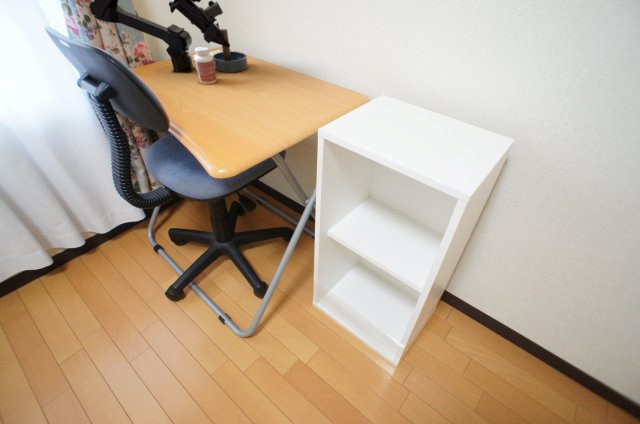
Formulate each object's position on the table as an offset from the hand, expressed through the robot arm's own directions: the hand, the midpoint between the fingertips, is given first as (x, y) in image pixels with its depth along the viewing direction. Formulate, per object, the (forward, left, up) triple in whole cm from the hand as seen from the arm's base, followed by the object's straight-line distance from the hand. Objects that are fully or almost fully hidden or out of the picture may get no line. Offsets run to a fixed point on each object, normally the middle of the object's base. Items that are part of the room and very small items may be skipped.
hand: (229, 45), depth 119 cm
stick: (-1, 0, -7) cm, 7 cm away
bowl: (-1, +1, -9) cm, 9 cm away
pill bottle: (-7, -15, -9) cm, 18 cm away
